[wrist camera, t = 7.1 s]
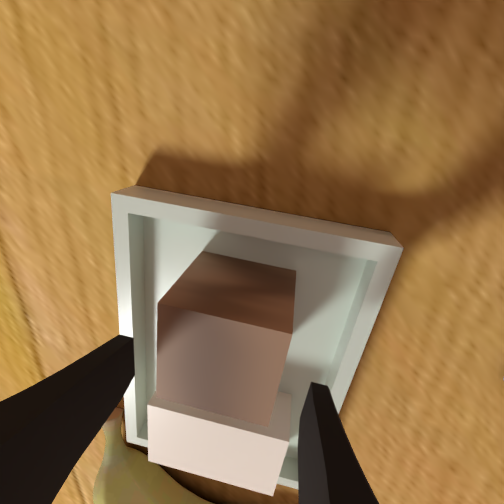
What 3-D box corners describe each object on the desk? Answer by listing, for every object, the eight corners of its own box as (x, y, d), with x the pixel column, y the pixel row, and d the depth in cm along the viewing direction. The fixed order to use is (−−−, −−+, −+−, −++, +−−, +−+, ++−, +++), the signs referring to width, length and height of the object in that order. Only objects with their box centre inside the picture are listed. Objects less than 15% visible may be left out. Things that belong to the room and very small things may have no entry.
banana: (211, 672, 21) (23, 481, 20) (222, 578, 27) (76, 423, 25) (361, 583, 20) (168, 367, 18) (340, 502, 25) (191, 331, 24)
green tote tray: (390, 232, 14) (403, 248, 12) (307, 460, 21) (307, 492, 19) (134, 185, 15) (110, 192, 13) (141, 416, 22) (126, 441, 20)
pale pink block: (291, 394, 18) (289, 442, 15) (277, 446, 20) (272, 496, 17) (170, 364, 19) (147, 404, 16) (168, 417, 21) (148, 461, 18)
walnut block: (296, 270, 15) (292, 334, 10) (278, 346, 17) (268, 427, 12) (202, 250, 15) (157, 302, 10) (195, 326, 17) (155, 397, 12)
